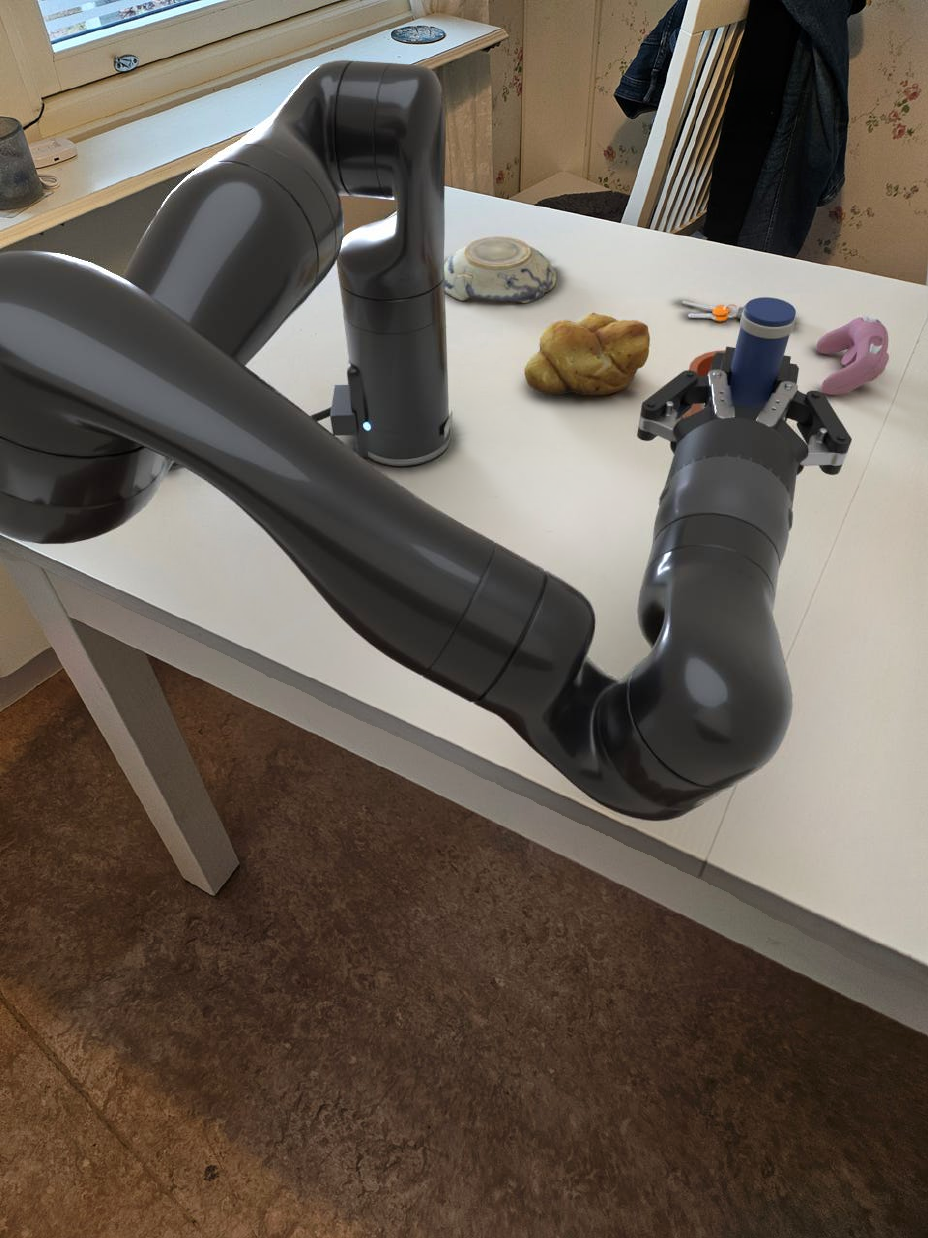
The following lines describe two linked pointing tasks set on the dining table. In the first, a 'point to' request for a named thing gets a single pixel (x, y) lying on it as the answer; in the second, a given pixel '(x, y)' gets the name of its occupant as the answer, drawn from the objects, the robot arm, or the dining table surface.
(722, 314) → the key chain
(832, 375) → the video game controller
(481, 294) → the decorative bowl
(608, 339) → the bread roll
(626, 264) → the dining table surface
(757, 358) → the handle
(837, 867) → the dining table surface
